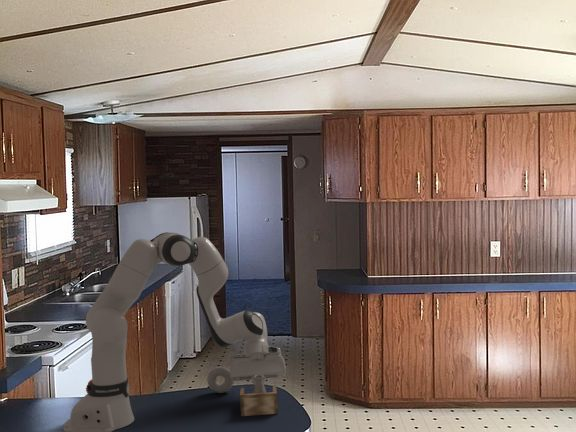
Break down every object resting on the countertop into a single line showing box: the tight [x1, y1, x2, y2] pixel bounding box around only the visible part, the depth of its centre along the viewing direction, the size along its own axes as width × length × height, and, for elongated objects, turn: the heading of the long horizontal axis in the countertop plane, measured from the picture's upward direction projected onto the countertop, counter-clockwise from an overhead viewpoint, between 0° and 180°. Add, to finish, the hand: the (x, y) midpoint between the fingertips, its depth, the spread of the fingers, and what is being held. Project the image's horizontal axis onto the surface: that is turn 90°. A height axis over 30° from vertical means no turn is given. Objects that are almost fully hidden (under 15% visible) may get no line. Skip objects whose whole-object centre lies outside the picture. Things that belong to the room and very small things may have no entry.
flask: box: [252, 375, 268, 394], centre depth 219 cm, size 7×7×10 cm
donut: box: [206, 365, 235, 394], centre depth 233 cm, size 10×3×10 cm, turn 85°
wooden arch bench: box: [239, 384, 279, 417], centre depth 215 cm, size 12×11×7 cm
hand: (259, 389), depth 221 cm, fingers closed, pressing on flask
